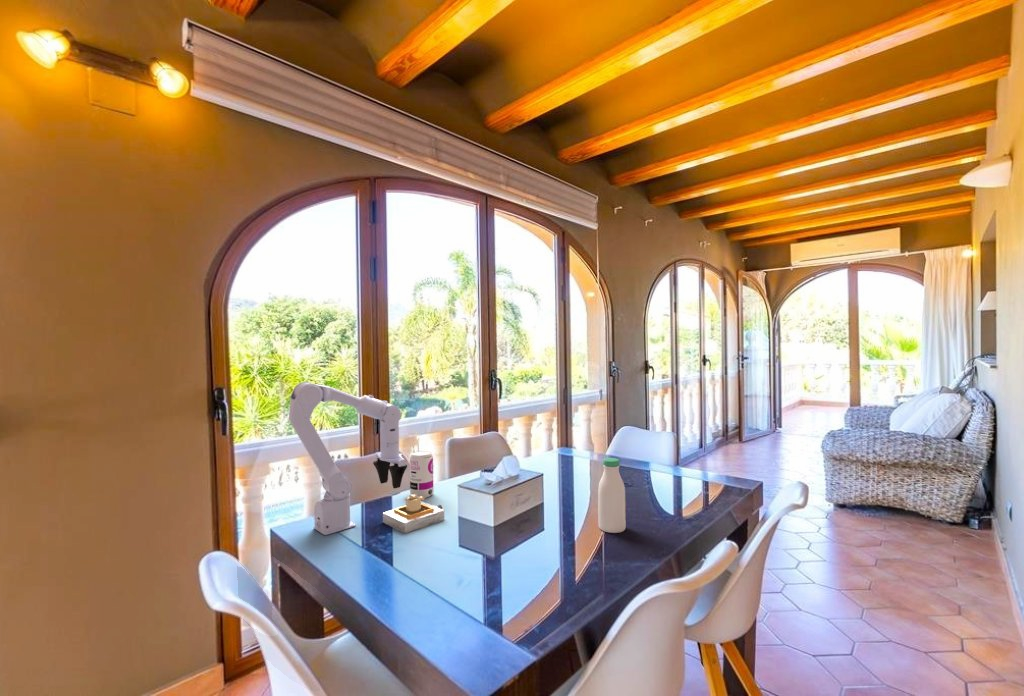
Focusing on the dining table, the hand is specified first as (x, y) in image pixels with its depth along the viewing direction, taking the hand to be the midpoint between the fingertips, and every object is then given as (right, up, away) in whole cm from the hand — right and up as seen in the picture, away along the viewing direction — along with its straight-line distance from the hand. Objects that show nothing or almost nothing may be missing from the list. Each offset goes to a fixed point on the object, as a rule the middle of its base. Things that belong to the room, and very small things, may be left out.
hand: (390, 485), depth 147 cm
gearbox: (+10, -9, -4) cm, 14 cm away
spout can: (+9, -9, -6) cm, 14 cm away
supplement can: (+6, -9, +19) cm, 22 cm away
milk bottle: (+67, -9, -13) cm, 69 cm away
